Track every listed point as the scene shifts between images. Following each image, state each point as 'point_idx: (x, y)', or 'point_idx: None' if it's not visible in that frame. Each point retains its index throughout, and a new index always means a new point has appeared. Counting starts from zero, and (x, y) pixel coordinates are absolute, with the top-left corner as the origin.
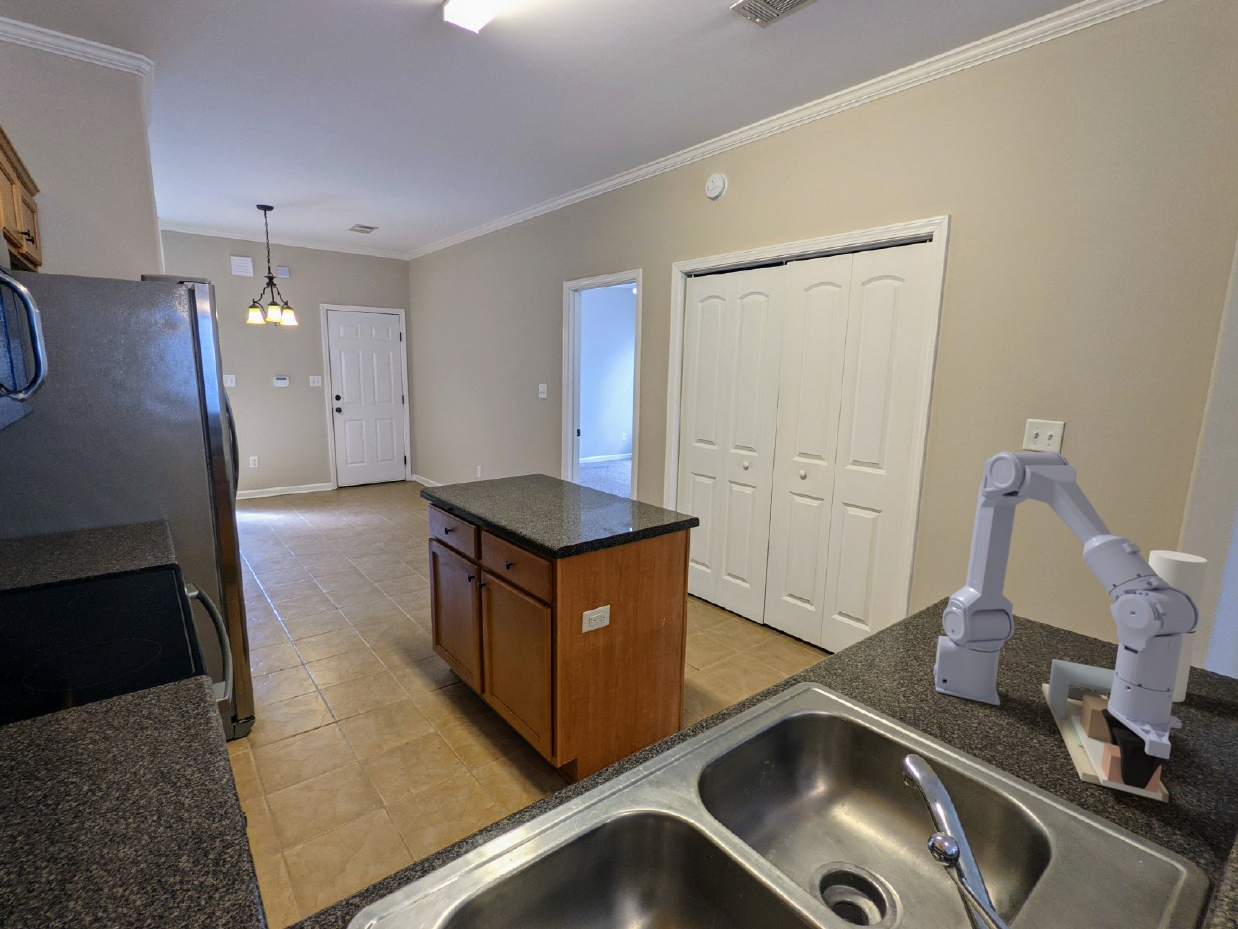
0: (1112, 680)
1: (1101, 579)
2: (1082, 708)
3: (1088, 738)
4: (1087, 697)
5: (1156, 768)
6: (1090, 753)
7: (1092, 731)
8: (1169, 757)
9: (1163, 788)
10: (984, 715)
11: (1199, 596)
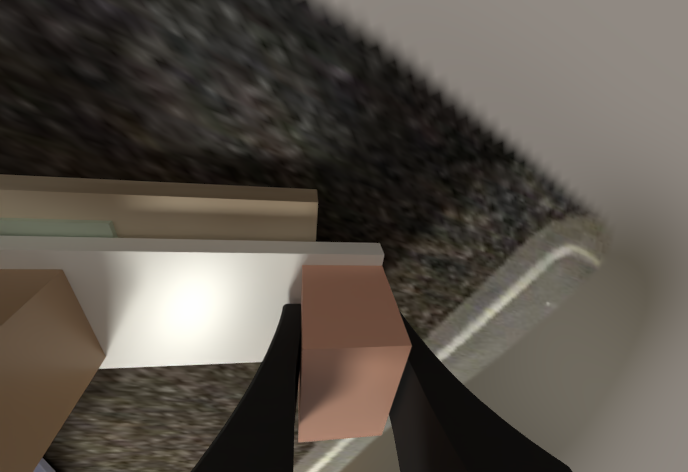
0: None
1: None
2: None
3: (114, 356)
4: None
5: (454, 377)
6: (227, 362)
7: (87, 375)
8: (541, 448)
9: (287, 207)
10: (115, 446)
11: None
